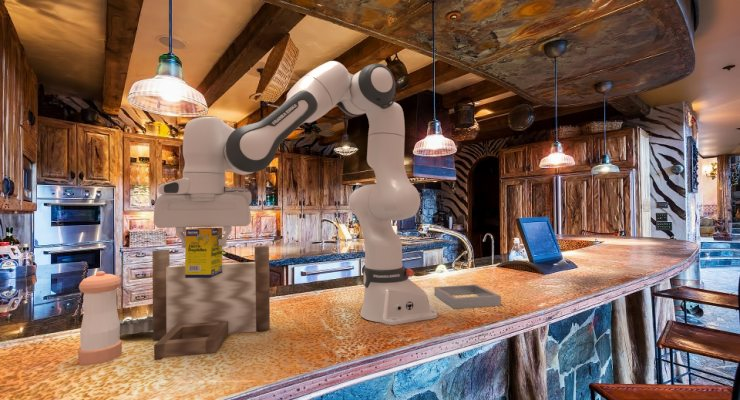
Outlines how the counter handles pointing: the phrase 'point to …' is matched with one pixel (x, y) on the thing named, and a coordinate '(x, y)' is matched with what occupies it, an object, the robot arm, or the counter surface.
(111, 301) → the pepper shaker
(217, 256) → the supplement box
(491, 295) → the frame
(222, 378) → the counter surface
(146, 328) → the egg carton
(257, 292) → the wooden display stand
